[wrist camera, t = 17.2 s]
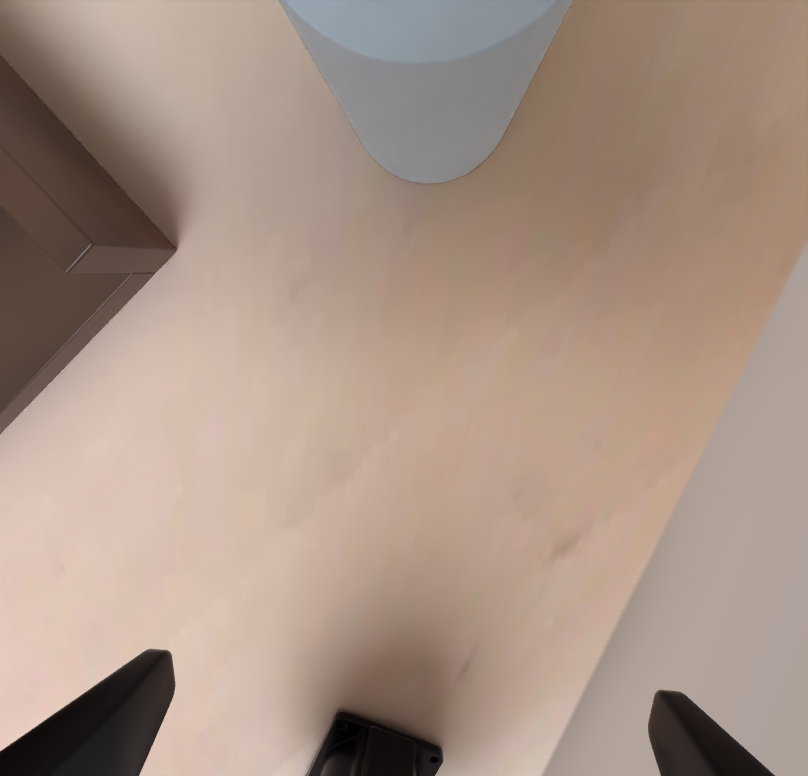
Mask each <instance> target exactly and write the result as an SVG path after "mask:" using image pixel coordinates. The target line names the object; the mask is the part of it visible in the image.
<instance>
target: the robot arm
mask: <svg viewBox="0 0 808 776" xmlns="http://www.w3.org/2000/svg"><path fill="white" fill-rule="evenodd" d="M174 691H175V676H174V668H173V660H172V655H171V653H170V652H169V651H167V650H159V649H149V650H146V651H144V652H143V653H141V654H140V655H138V656H137V657H135V658H134V659H133V660H131V661H130V662H128V663H127V664H125V665H124V666H122V667H121V668H120V669H118V670H117V671H115V672H114V673H112V674H111V675H110V676H108V677H107V678H105V679H104V680H102V681H101V682H99V683H98V684H97V685H95V686H94V687H92V688H91V689H89V690H88V691H87V692H85V693H84V694H82V695H81V696H79V697H78V698H76V699H75V700H74V701H72V702H71V703H69V704H68V705H66V706H65V707H64V708H62V709H61V710H59V711H58V712H56V713H55V714H53V715H52V716H51V717H49V718H48V719H46V720H45V721H43V722H42V723H41V724H39V725H38V726H36V727H35V728H33V729H32V730H30V731H29V732H28V733H26V734H25V735H23V736H22V737H20V738H19V739H17V740H16V741H15V742H13V743H12V744H10V745H9V746H7V747H6V748H5V749H3V750H2V751H0V776H139V775H140V772H141V770H142V768H143V765H144V763H145V761H146V759H147V756H148V754H149V752H150V749H151V747H152V745H153V742H154V740H155V738H156V735H157V733H158V731H159V729H160V726H161V724H162V722H163V719H164V717H165V715H166V712H167V710H168V708H169V705H170V703H171V701H172V698H173V695H174ZM648 733H649V738H650V742H651V745H652V749H653V751H654V755H655V758H656V762H657V764H658V768H659V771H660V774H661V776H775V775H774V774H772V773H771V772H770V771H769V770H768V769H767V768H766V767H765V766H764V765H763V764H761V763H760V762H759V761H758V760H757V759H756V758H755V757H754V756H753V755H751V754H750V753H749V752H748V751H747V750H746V749H745V748H744V747H742V746H741V745H740V744H739V743H738V742H737V741H736V740H734V738H733V737H731V736H730V735H729V734H728V733H727V732H726V731H725V730H724V729H722V728H721V727H720V726H719V725H718V724H717V723H716V722H715V721H714V720H713V719H711V718H710V717H709V716H708V715H707V714H706V713H705V712H704V711H703V710H701V709H700V708H699V707H698V706H697V705H696V704H695V703H694V702H692V701H691V700H690V699H689V698H688V697H687V696H686V695H684V694H683V693H681V692H678V691H666V690H659V691H657V692H656V693H655V696H654V700H653V704H652V709H651V714H650V718H649V723H648ZM442 762H443V751H442V749H441V748H440V747H438V746H435V745H433V744H430V743H427V742H425V741H422V740H419V739H416V738H414V737H411V736H408V735H406V734H403V733H400V732H398V731H395V730H392V729H390V728H387V727H384V726H382V725H379V724H376V723H374V722H371V721H368V720H366V719H363V718H360V717H357V716H355V715H352V714H349V713H347V712H338V713H336V715H335V716H334V718H333V720H332V723H331V725H330V727H329V729H328V731H327V733H326V735H325V738H324V740H323V742H322V744H321V746H320V748H319V750H318V752H317V755H316V757H315V759H314V761H313V763H312V765H311V767H310V770H309V772H308V774H307V776H435V775H436V773H437V771H438V769H439V768H440V766H441V764H442Z"/></svg>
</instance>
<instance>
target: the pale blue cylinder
mask: <svg viewBox="0 0 808 776" xmlns="http://www.w3.org/2000/svg"><path fill="white" fill-rule="evenodd" d="M572 1H573V0H279V2H280V4H281V6H282V7H283V9H284V11H285V12H286V14H287V16H288V18H289V19H290V21H291V23H292V24H293V26H294V28H295V30H296V31H297V33H298V35H299V37H300V38H301V40H302V42H303V43H304V45H305V47H306V49H307V50H308V52H309V54H310V55H311V57H312V59H313V61H314V62H315V64H316V66H317V67H318V69H319V71H320V73H321V74H322V76H323V78H324V80H325V81H326V83H327V85H328V86H329V88H330V90H331V92H332V93H333V95H334V97H335V98H336V100H337V102H338V104H339V105H340V107H341V109H342V111H343V112H344V114H345V116H346V117H347V119H348V121H349V123H350V124H351V126H352V128H353V129H354V131H355V133H356V135H357V136H358V138H359V140H360V141H361V143H362V145H363V147H364V148H365V150H366V151H367V152H368V153H369V155H370V156H371V157H372V158H373V159H374V160H375V161H376V162H377V163H378V164H379V165H380V166H381V167H383V168H384V169H385V170H387V171H388V172H390V173H391V174H393V175H395V176H397V177H399V178H402V179H404V180H407V181H411V182H415V183H424V184H432V183H441V182H447V181H450V180H453V179H456V178H459V177H461V176H463V175H465V174H467V173H469V172H470V171H472V170H473V169H475V168H476V167H477V166H479V165H480V164H481V163H482V162H483V161H484V160H485V159H486V158H487V157H488V156H489V155H490V154H491V153H492V152H493V151H494V149H495V148H496V146H497V145H498V143H499V142H500V140H501V138H502V137H503V135H504V133H505V131H506V129H507V127H508V125H509V123H510V121H511V119H512V117H513V115H514V114H515V112H516V110H517V108H518V106H519V104H520V102H521V100H522V98H523V96H524V94H525V92H526V90H527V88H528V86H529V84H530V82H531V81H532V79H533V77H534V75H535V73H536V71H537V69H538V67H539V65H540V63H541V61H542V59H543V57H544V55H545V53H546V51H547V50H548V48H549V46H550V44H551V42H552V40H553V38H554V36H555V34H556V32H557V30H558V28H559V26H560V24H561V22H562V20H563V18H564V17H565V15H566V13H567V11H568V9H569V7H570V5H571V3H572Z"/></svg>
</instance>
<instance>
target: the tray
mask: <svg viewBox="0 0 808 776" xmlns="http://www.w3.org/2000/svg"><path fill="white" fill-rule="evenodd" d="M175 252H176V248H175V247H174V246H173V245H172V244H171V243H170V242H169V241H168V240H167V238H166V237H165V236H164V235H163V234H162V233H161V232H160V231H159V230H158V229H157V227H156V226H155V225H154V224H153V223H152V222H151V221H150V220H149V219H148V218H147V216H146V215H145V214H144V213H143V212H142V211H141V210H140V209H139V208H138V206H137V205H136V204H135V203H134V202H133V201H132V200H131V199H130V198H129V197H128V195H127V194H126V193H125V192H124V191H123V190H122V189H121V188H120V187H119V186H118V184H117V183H116V182H115V181H114V180H113V179H112V178H111V177H110V176H109V175H108V173H107V172H106V171H105V170H104V169H103V168H102V167H101V166H100V165H99V164H98V162H97V161H96V160H95V159H94V158H93V157H92V156H91V155H90V154H89V153H88V151H87V150H86V149H85V148H84V147H83V146H82V145H81V144H80V143H79V142H78V140H77V139H76V138H75V137H74V136H73V135H72V134H71V133H70V132H69V131H68V129H67V128H66V127H65V126H64V125H63V124H62V123H61V122H60V121H59V120H58V118H57V117H56V116H55V115H54V114H53V113H52V112H51V111H50V110H49V109H48V107H47V106H46V105H45V104H44V103H43V102H42V101H41V100H40V99H39V98H38V96H37V95H36V94H35V93H34V92H33V91H32V90H31V89H30V88H29V87H28V85H27V84H26V83H25V82H24V81H23V80H22V79H21V78H20V77H19V75H18V74H17V73H16V72H15V71H14V70H13V69H12V68H11V67H10V66H9V64H8V63H7V62H6V61H5V60H4V59H3V58H2V57H1V56H0V433H1V432H2V431H3V430H4V429H5V428H6V427H7V426H8V425H9V424H10V423H11V422H12V421H13V420H14V419H15V418H16V417H17V416H18V415H19V414H20V413H21V411H22V410H23V409H24V408H25V407H26V406H27V405H28V404H29V403H30V402H31V401H32V400H33V399H34V398H35V397H36V396H37V395H38V394H39V393H40V392H41V391H42V390H43V389H44V388H45V387H46V386H47V385H48V384H49V382H50V381H51V380H52V379H53V378H54V377H55V376H56V375H57V374H58V373H59V372H60V371H61V370H62V369H63V368H64V367H65V366H66V365H67V364H68V363H69V362H70V361H71V360H72V359H73V358H74V357H75V356H76V355H77V353H78V352H79V351H80V350H81V349H82V348H83V347H84V346H85V345H86V344H87V343H88V342H89V341H90V340H91V339H92V338H93V337H94V336H95V335H96V334H97V333H98V332H99V331H100V330H101V329H102V328H103V327H104V326H105V324H106V323H107V322H108V321H109V320H110V319H111V318H112V317H113V316H114V315H115V314H116V313H117V312H118V311H119V310H120V309H121V308H122V307H123V306H124V305H125V304H126V303H127V302H128V301H129V300H130V299H131V298H132V297H133V295H134V294H135V293H136V292H137V291H138V290H139V289H140V288H141V287H142V286H143V285H144V284H145V283H146V282H147V281H148V280H149V279H150V278H151V277H152V276H153V275H154V272H156V271H157V270H158V269H159V268H160V267H161V266H162V265H163V264H164V263H165V262H166V261H167V260H168V259H169V258H170V257H171V256H172V255H173V254H174V253H175Z"/></svg>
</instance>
